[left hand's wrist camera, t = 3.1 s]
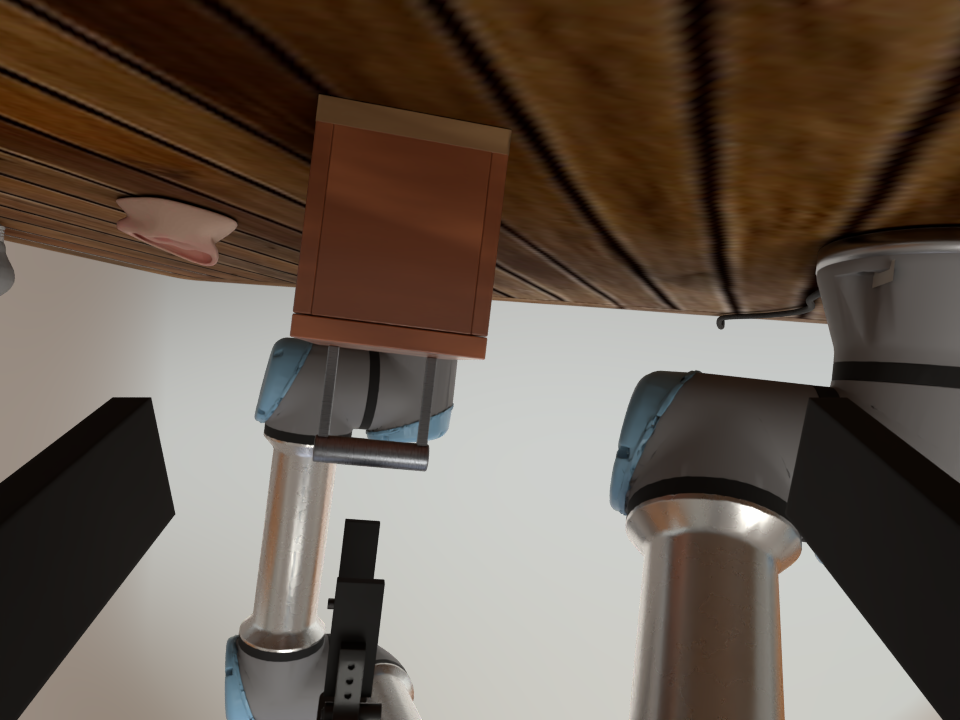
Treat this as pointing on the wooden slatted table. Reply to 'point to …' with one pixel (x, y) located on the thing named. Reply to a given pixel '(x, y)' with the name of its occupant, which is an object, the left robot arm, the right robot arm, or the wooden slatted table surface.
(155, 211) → the anatomical model
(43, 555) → the left robot arm
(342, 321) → the lid
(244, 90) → the wooden slatted table surface
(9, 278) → the light bulb
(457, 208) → the chest
